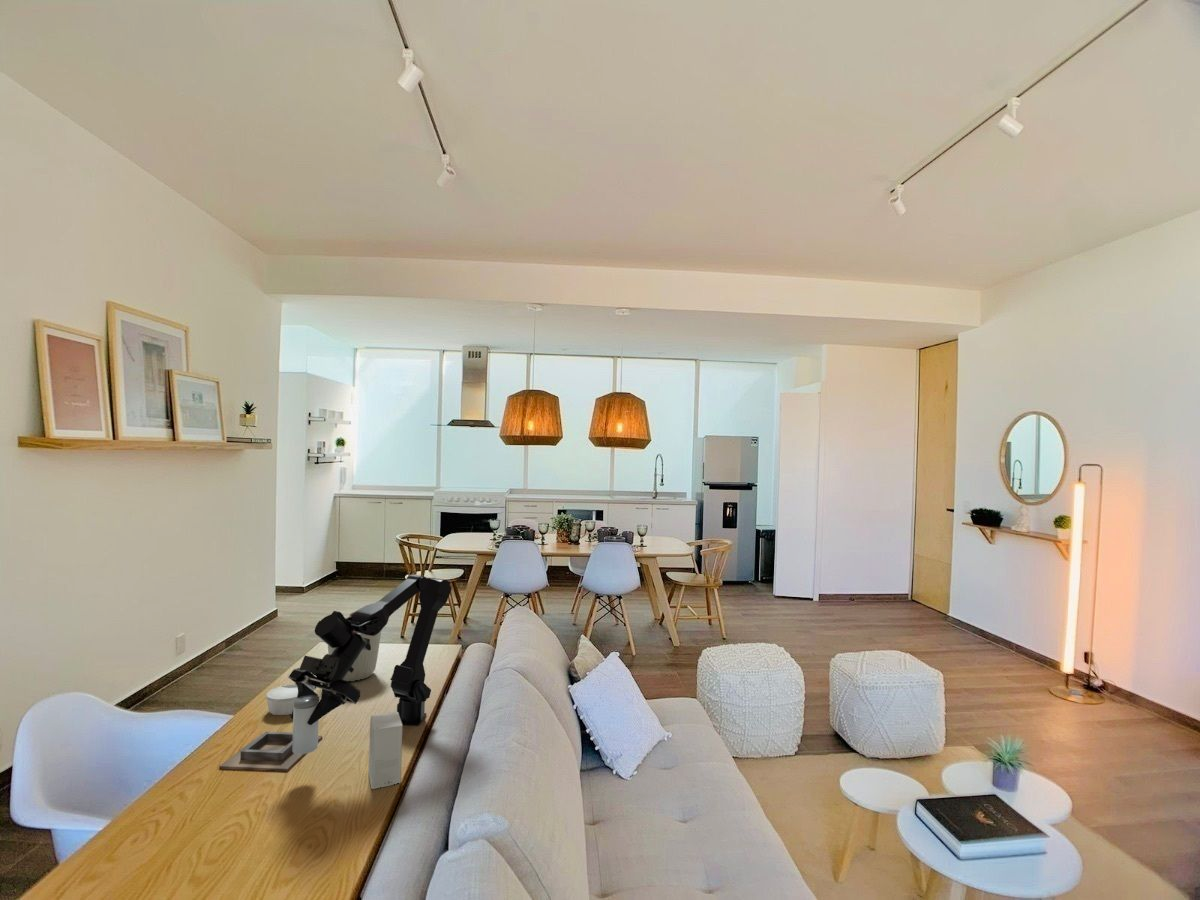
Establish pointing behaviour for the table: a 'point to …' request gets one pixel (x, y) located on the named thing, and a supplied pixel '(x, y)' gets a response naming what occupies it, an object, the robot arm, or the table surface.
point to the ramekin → (282, 699)
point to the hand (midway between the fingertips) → (300, 721)
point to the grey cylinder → (304, 725)
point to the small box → (385, 750)
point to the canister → (363, 659)
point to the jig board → (266, 753)
